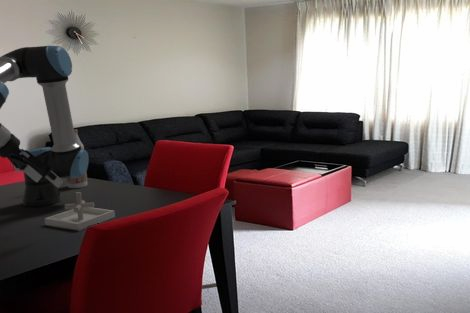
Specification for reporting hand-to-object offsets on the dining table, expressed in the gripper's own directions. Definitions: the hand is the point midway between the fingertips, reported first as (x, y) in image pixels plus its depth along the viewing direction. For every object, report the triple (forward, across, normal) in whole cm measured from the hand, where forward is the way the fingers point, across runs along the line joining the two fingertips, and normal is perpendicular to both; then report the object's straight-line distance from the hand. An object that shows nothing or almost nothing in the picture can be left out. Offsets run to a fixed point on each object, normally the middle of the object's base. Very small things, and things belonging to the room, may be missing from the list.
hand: (49, 181), depth 153 cm
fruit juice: (+42, -52, +20) cm, 70 cm away
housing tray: (+19, +1, -4) cm, 19 cm away
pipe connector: (+18, +1, -4) cm, 19 cm away
